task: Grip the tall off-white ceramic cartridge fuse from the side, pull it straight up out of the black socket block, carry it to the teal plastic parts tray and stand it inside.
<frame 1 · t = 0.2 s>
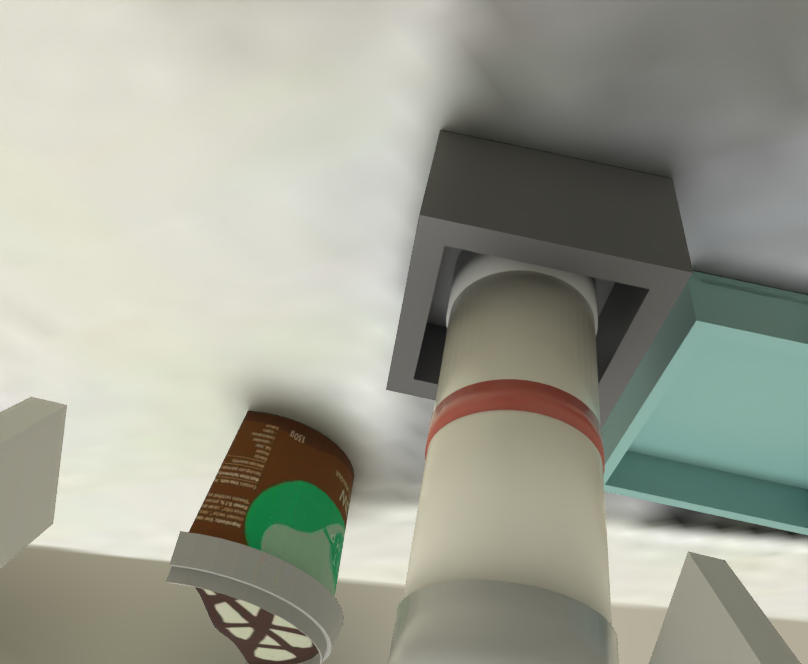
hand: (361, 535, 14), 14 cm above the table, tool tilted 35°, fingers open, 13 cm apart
fuse: (522, 280, 25), point 2 cm above the table, touching socket block
parts tray: (755, 392, 29), on the table
food container: (321, 463, 39), on the table
socket block: (524, 246, 26), on the table
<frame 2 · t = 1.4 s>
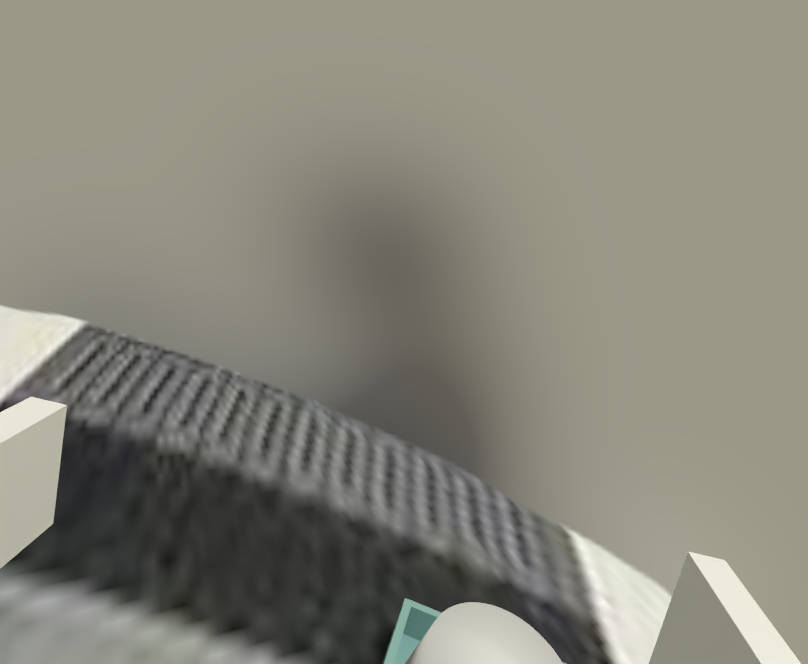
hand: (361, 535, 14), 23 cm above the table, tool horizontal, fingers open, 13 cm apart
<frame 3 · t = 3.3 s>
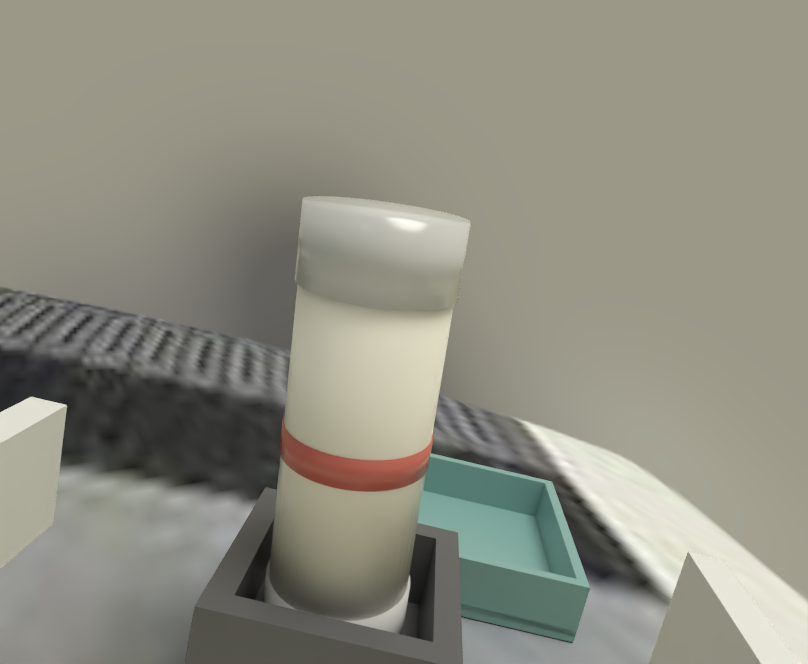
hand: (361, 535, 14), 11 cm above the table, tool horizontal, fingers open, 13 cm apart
fuse: (331, 631, 24), point 2 cm above the table, tilted 5°, touching socket block
parts tray: (451, 550, 36), on the table
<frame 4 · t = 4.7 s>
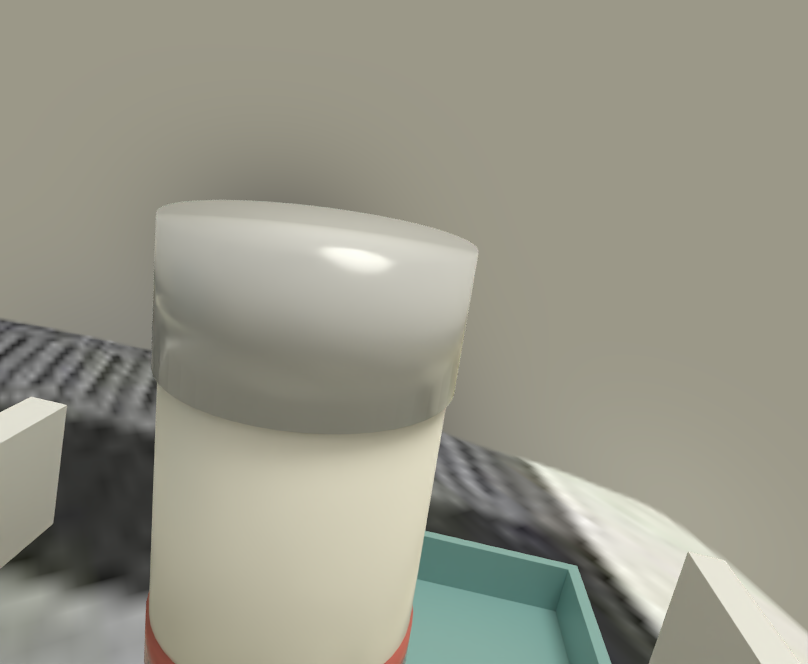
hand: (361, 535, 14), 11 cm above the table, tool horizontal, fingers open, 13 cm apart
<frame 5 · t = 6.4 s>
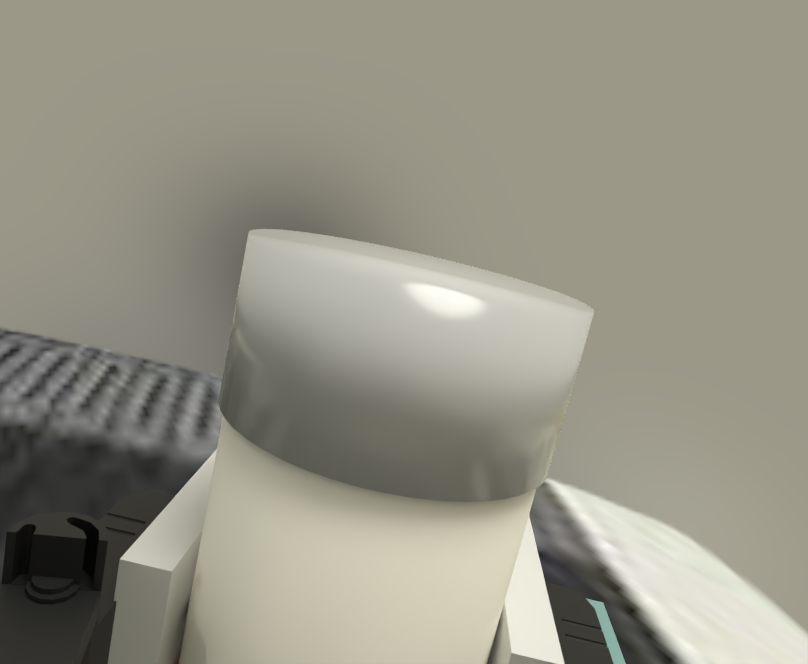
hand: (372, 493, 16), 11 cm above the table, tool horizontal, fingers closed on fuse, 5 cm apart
when the fingers open (11 cm above the table, at t = 12.8 s): fuse moves 1 cm, resting on parts tray.
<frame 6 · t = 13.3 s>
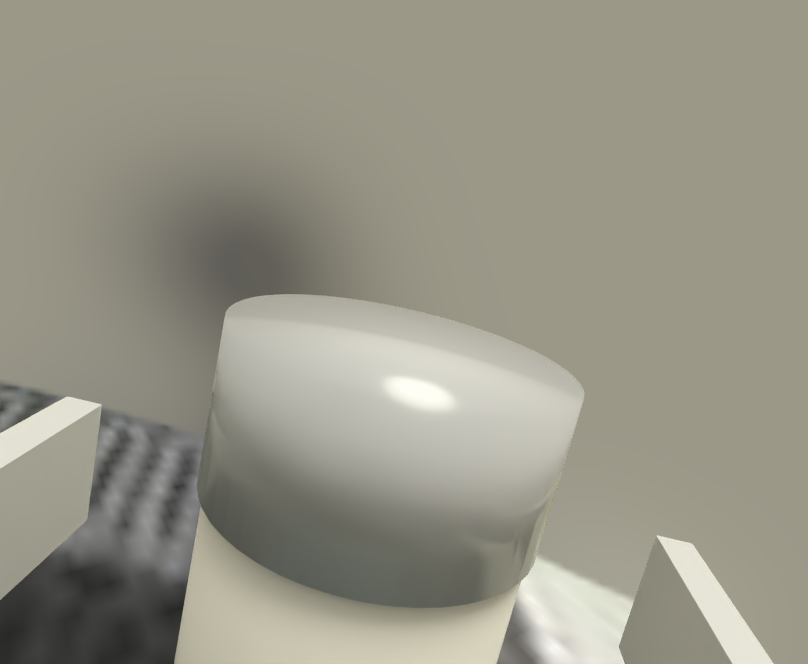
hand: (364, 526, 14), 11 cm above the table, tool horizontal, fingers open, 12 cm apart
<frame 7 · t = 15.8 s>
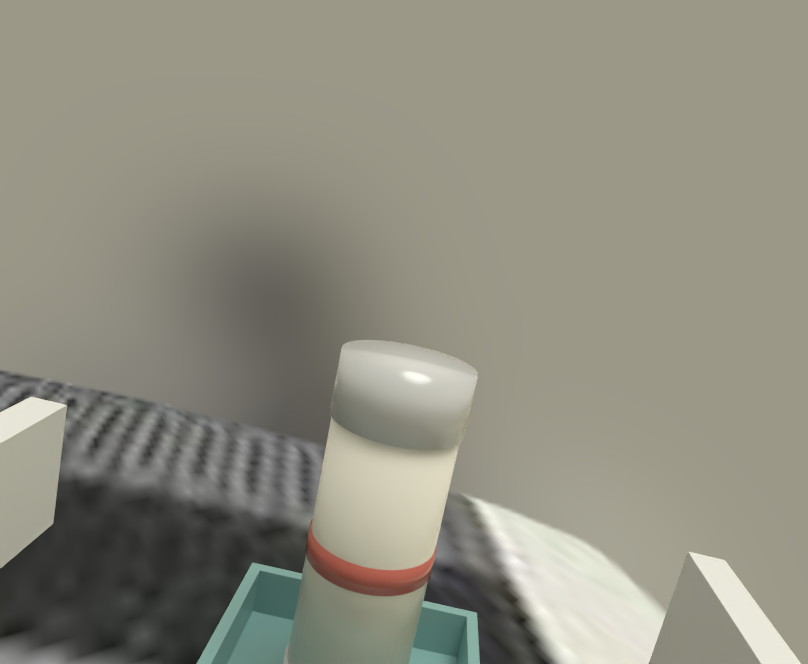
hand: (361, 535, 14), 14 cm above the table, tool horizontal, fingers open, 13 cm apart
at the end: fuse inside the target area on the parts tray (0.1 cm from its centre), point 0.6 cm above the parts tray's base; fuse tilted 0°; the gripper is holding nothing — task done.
